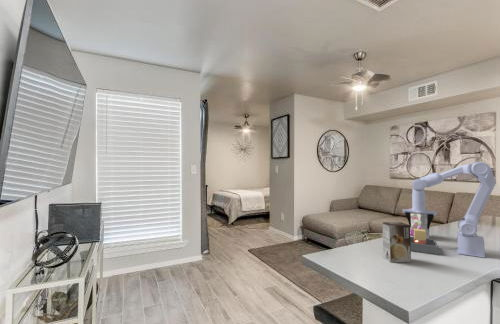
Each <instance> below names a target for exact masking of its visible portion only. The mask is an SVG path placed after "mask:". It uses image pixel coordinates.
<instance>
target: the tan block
mask: <svg viewBox="0 0 500 324" xmlns="http://www.w3.org/2000/svg"><path fill="white" fill-rule="evenodd" d="M413 237H414V238H415V239H417V240H425V241H426V231H425V230H424V229H414V236H413Z"/></svg>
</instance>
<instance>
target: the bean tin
mask: <svg viewBox="0 0 500 324" xmlns="http://www.w3.org/2000/svg"><path fill="white" fill-rule="evenodd" d="M413 241H414V243H417V244H425V245H426V241H425V240H417V239H415V238H413Z"/></svg>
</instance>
